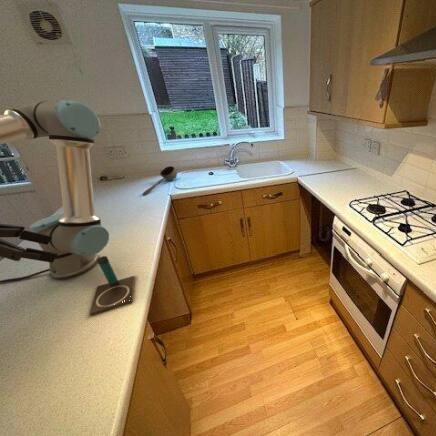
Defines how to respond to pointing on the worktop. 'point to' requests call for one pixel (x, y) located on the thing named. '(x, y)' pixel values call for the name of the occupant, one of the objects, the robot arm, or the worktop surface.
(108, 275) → the marker
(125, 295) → the induction cooktop
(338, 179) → the worktop surface
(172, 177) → the ladle
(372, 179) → the worktop surface
